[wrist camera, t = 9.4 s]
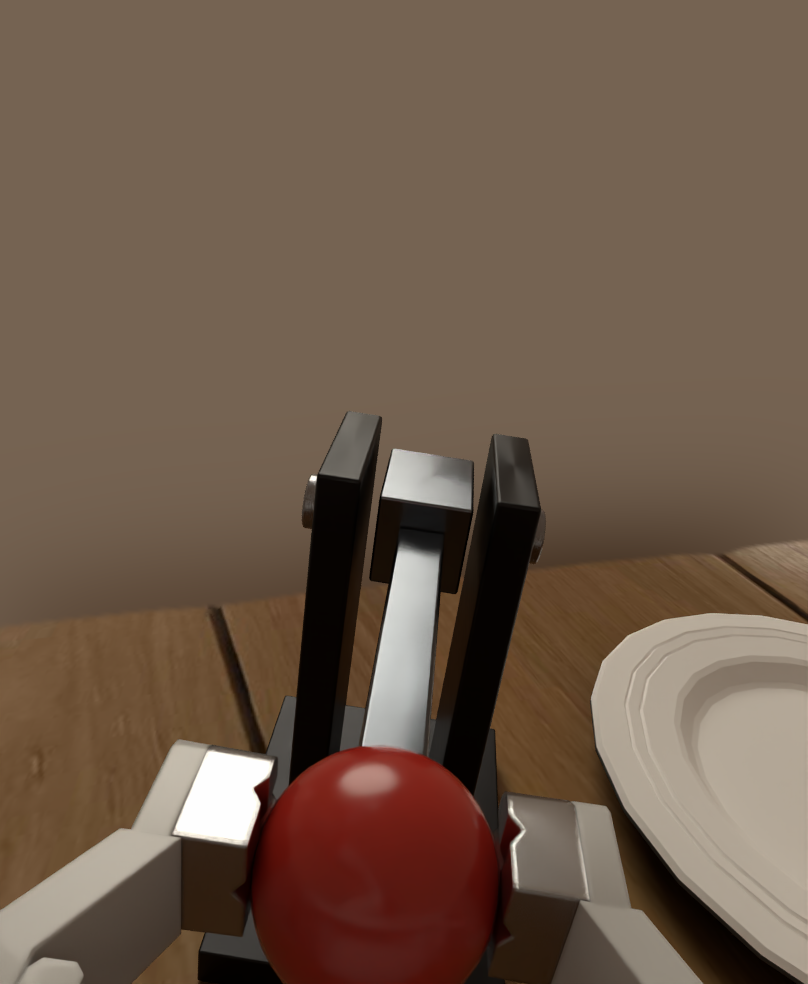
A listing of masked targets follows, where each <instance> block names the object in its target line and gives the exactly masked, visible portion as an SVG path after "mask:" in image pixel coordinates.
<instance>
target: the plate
mask: <svg viewBox="0 0 808 984" xmlns="http://www.w3.org/2000/svg"><path fill="white" fill-rule="evenodd" d="M590 705H591V714H592V723H593V731H594V740H595V749H596V752H597V755H598V757H599V759H600V761H601V763H602V766H603V768H604V770H605V772H606V774H607V777H608V779H609V781H610V783H611V785H612V788H613V790H614V792H615V794H616V797H617V799H618V801H619V803H620V805H621V808H622V810H623V812H624V813H625V814H626V816H627V817H628V818H629V820H630V821H631V822H632V824H633V825H634V826H635V828H636V829H637V830H638V832H639V833H640V834H641V836H642V837H643V838H644V839H645V841H646V842H647V843H648V845H649V846H650V847H651V849H652V850H653V851H654V853H655V854H656V855H657V857H658V858H659V859H660V861H661V862H662V863H663V865H664V866H665V867H666V868H667V870H668V871H669V872H670V874H671V875H672V876H673V878H674V879H675V880H676V882H677V883H678V884H679V885H680V886H681V887H683V888H684V889H685V890H686V891H687V892H688V893H689V894H690V895H691V896H692V897H693V898H694V899H696V900H697V901H698V902H699V903H700V904H701V905H702V906H703V907H704V908H705V909H706V910H707V911H709V912H710V913H711V914H712V915H713V916H714V917H715V918H716V919H717V920H718V921H719V922H720V923H722V924H723V925H724V926H725V927H726V928H727V929H728V930H729V931H730V932H731V933H732V934H733V935H734V936H736V937H737V938H738V939H739V940H740V941H741V942H742V943H743V944H744V945H745V946H746V947H747V948H749V949H750V950H751V951H752V952H753V953H754V954H755V955H756V956H757V957H758V958H759V959H761V960H762V961H764V962H765V963H767V964H768V965H770V966H771V967H773V968H774V969H776V970H777V971H779V972H780V973H782V974H783V975H785V976H786V977H788V978H789V979H791V980H792V981H794V982H795V983H797V984H808V625H807V624H802V623H797V622H792V621H787V620H781V619H776V618H771V617H766V616H759V615H738V614H718V613H709V614H701V615H694V616H687V617H680V618H673V619H666V620H663V621H660V622H658V623H656V624H653V625H651V626H649V627H646V628H644V629H642V630H640V631H637V632H635V633H633V634H630V635H628V636H627V637H626V638H625V639H624V640H623V641H622V642H621V643H620V644H619V645H618V646H617V647H616V648H615V649H614V650H613V651H612V652H611V653H610V654H609V655H608V656H607V657H606V658H605V659H604V660H603V662H602V665H601V668H600V671H599V674H598V677H597V680H596V683H595V687H594V690H593V693H592V696H591V700H590Z"/></svg>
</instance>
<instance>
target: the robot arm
mask: <svg viewBox="0 0 808 984" xmlns="http://www.w3.org/2000/svg"><path fill="white" fill-rule="evenodd" d="M277 776H278V758H277V757H276V756H271V755H265V754H260V753H254V752H249V751H243V750H238V749H232V748H227V747H221V746H216V745H207V744H201V743H196V742H190V741H185V740H179V739H178V740H177V741H176V742H175V743H174V745H173V746H172V747H171V748H170V750H169V752H168V754H167V756H166V758H165V760H164V763H163V765H162V767H161V769H160V771H159V773H158V775H157V777H156V779H155V781H154V783H153V785H152V787H151V789H150V791H149V793H148V795H147V797H146V799H145V801H144V803H143V805H142V807H141V809H140V811H139V813H138V815H137V818H136V820H135V822H134V824H133V826H132V828H131V829H123V828H120V829H118V830H117V831H115V832H114V833H113V834H111V835H110V836H108V837H107V838H105V839H104V840H102V841H101V842H99V843H98V844H97V845H95V846H94V847H92V848H91V849H89V850H88V851H86V852H85V853H83V854H82V855H80V856H79V857H78V858H76V859H75V860H73V861H72V862H70V863H69V864H67V865H66V866H64V867H63V868H61V869H60V870H59V871H57V872H56V873H54V874H53V875H51V876H50V877H48V878H47V879H45V880H44V881H43V882H41V883H40V884H38V885H37V886H35V887H34V888H32V889H31V890H29V891H28V892H26V893H25V894H24V895H22V896H21V897H19V898H18V899H16V900H15V901H13V902H12V903H10V904H9V905H7V906H6V907H5V908H3V909H2V910H0V984H131V983H132V982H133V981H134V980H135V979H136V978H137V977H138V976H139V975H140V974H141V973H142V972H143V971H144V970H145V969H146V968H147V967H148V966H149V965H150V964H151V963H152V962H153V961H154V960H155V959H156V958H157V957H158V956H159V955H160V954H161V953H162V952H163V951H164V950H165V949H166V948H167V947H168V946H169V945H170V944H171V943H172V942H173V941H174V940H175V939H176V938H177V937H178V936H179V935H180V934H181V929H182V930H190V931H198V932H206V933H213V934H221V935H229V936H237V937H243V934H244V930H245V927H246V923H247V920H248V916H249V913H250V909H251V900H250V878H251V867H252V860H253V856H254V853H255V850H256V847H257V843H258V840H259V835H260V832H261V829H262V827H263V824H264V821H265V820H266V818H267V816H268V814H269V812H270V811H271V809H272V807H273V806H274V804H275V802H276V797H275V796H274V794H273V789H274V786H275V783H276V779H277ZM498 820H499V827H498V828H497V829H495V830H494V831H493V832H492V835H493V838H494V842H495V846H496V850H497V855H498V859H499V869H500V901H499V906H498V911H497V916H496V922H495V926H494V929H493V932H492V935H491V938H490V941H489V943H488V945H487V958H488V977H493V978H499V979H504V980H509V981H515V982H520V983H525V984H703V983H702V982H701V981H700V979H699V978H698V977H697V976H696V975H695V973H694V972H693V971H692V970H691V969H690V967H689V966H688V965H687V964H686V963H685V961H684V960H683V959H682V958H681V957H680V955H679V954H678V953H677V952H676V951H675V949H674V948H673V947H672V946H671V945H670V943H669V942H668V941H667V940H666V939H665V937H664V936H663V935H662V934H661V933H660V931H659V930H658V929H657V928H656V927H655V926H654V924H653V923H652V922H651V921H650V920H649V918H648V917H647V916H646V915H645V914H644V912H643V911H642V910H637V909H632V908H631V905H630V900H629V895H628V891H627V886H626V881H625V877H624V872H623V868H622V863H621V858H620V854H619V849H618V845H617V840H616V835H615V831H614V826H613V821H612V817H611V812H610V811H609V810H608V808H607V807H606V806H601V805H594V804H588V803H581V802H574V801H572V802H570V801H568V800H561V799H554V798H547V797H540V796H533V795H527V794H520V793H513V792H506V791H505V792H504V794H503V795H502V797H501V801H500V805H499V808H498Z"/></svg>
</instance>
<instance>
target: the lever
mask: <svg viewBox="0 0 808 984" xmlns="http://www.w3.org/2000/svg"><path fill="white" fill-rule="evenodd" d="M473 489H474V462H473V461H469V460H464V459H457V458H451V457H444V456H437V455H432V454H425V453H418V452H412V451H405V450H399V449H392V451H391V455H390V459H389V462H388V466H387V471H386V475H385V479H384V483H383V486H382V490H381V494H380V500H379V507H378V514H377V522H376V530H375V537H374V545H373V553H372V560H371V568H370V577H369V578H370V580H371V581H376V582H382V583H388V584H389V585H388V590H387V595H386V601H385V606H384V611H383V617H382V622H381V627H380V633H379V638H378V643H377V649H376V654H375V659H374V665H373V670H372V676H371V681H370V686H369V692H368V697H367V702H366V708H365V713H364V718H363V724H362V729H361V734H360V740H359V745H358V747H355V748H350V749H346V750H343V751H340V752H336V753H334V754H332V755H330V756H328V757H325V758H324V759H322V760H320V761H319V762H317V763H315V764H314V765H312V766H310V767H309V768H308V769H306V770H305V771H304V772H303V773H301V774H300V775H299V776H298V777H297V778H296V779H295V780H294V781H293V782H292V783H291V784H290V785H289V786H288V787H287V788H286V789H285V790H284V791H283V793H282V794H281V795H280V797H279V798H278V800H277V801H276V802H275V804H274V806H273V807H272V809H271V811H270V812H269V814H268V816H267V818H266V820H265V821H264V824H263V827H262V829H261V832H260V835H259V840H258V843H257V847H256V850H255V853H254V856H253V860H252V867H251V878H250V900H251V912H252V917H253V922H254V926H255V930H256V933H257V937H258V939H259V942H260V945H261V948H262V950H263V952H264V954H265V956H266V958H267V960H268V962H269V964H270V966H271V967H272V969H273V970H274V972H275V973H276V974H277V976H278V977H279V978H280V980H281V981H282V983H283V984H464V983H465V981H466V980H467V979H468V977H469V976H470V975H471V973H472V972H473V971H474V969H475V968H476V966H477V965H478V963H479V962H480V960H481V958H482V956H483V954H484V952H485V950H486V948H487V945H488V943H489V941H490V938H491V935H492V932H493V929H494V926H495V922H496V916H497V911H498V906H499V901H500V869H499V859H498V855H497V850H496V846H495V842H494V838H493V835H492V832H491V829H490V827H489V824H488V822H487V820H486V818H485V815H484V813H483V812H482V810H481V808H480V806H479V804H478V803H477V801H476V800H475V799H474V797H473V796H472V794H471V793H470V792H469V790H468V789H467V788H466V787H465V786H464V785H463V784H462V782H461V781H460V780H459V779H458V778H457V777H456V776H455V775H453V774H452V773H451V772H450V771H449V770H447V769H446V768H445V767H443V766H442V765H440V764H439V763H437V762H435V761H434V760H432V759H430V758H428V747H429V734H430V721H431V708H432V695H433V683H434V670H435V657H436V644H437V631H438V619H439V606H440V593H441V592H445V593H451V594H456V593H457V592H458V587H459V582H460V577H461V571H462V567H463V561H464V556H465V551H466V546H467V541H468V536H469V531H470V526H471V521H472V516H473V495H474V491H473Z"/></svg>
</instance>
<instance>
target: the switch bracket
mask: <svg viewBox="0 0 808 984" xmlns="http://www.w3.org/2000/svg"><path fill="white" fill-rule="evenodd" d="M381 425H382V417H380V416H376V415H370V414H363V413H357V412H351V411H349V412H347V413H346V415H345V417H344V419H343V421H342V423H341V425H340V427H339V430H338V432H337V434H336V436H335V438H334V440H333V442H332V445H331V447H330V449H329V451H328V453H327V455H326V457H325V460H324V462H323V464H322V466H321V468H320V470H319V473H318V474H312V475H311V476H310V478H309V480H308V484H307V486H306V491H305V495H304V501H303V510H302V525H303V527H304V528H308V529H312V533H311V544H310V555H309V567H308V577H307V587H306V598H305V609H304V620H303V631H302V642H301V653H300V664H299V675H298V686H297V697H292V696H285V698H284V701H283V704H282V707H281V710H280V713H279V716H278V719H277V721H276V724H275V727H274V730H273V733H272V736H271V739H270V742H269V745H268V748H267V751H266V754H265V755H271V756H276V757H277V758H278V776H277V779H276V783H275V786H274V789H273V794H274V796H275V797H276V801H277V800H278V798H279V797H280V795H281V794H282V793H283V791H284V790H285V789H286V788H287V787H288V786H289V785H290V784H291V783H292V782H293V781H294V780H295V779H296V778H297V777H298V776H299V775H300V774H301V773H303V772H304V771H305V770H306V769H308V768H309V767H310V766H312V765H314V764H315V763H317V762H319V761H320V760H322V759H324V758H325V757H328V756H330V755H332V754H334V753H336V752H340V751H343V750H346V749H350V748H355V747H358V745H359V740H360V734H361V729H362V724H363V718H364V713H365V708H360V707H354V706H347V705H346V698H347V691H348V683H349V675H350V667H351V659H352V652H353V644H354V636H355V628H356V620H357V613H358V605H359V597H360V589H361V581H362V573H363V566H364V558H365V549H366V541H367V534H368V526H369V518H370V511H371V503H372V495H373V487H374V479H375V472H376V463H377V456H378V449H379V440H380V433H381ZM545 525H546V518H545V512H544V511H543V510H542V509H541V506H540V501H539V496H538V490H537V485H536V480H535V475H534V470H533V464H532V459H531V454H530V448H529V443H528V440H527V439H524V438H517V437H512V436H505V435H499V434H494V435H493V436H492V439H491V444H490V448H489V453H488V459H487V464H486V469H485V474H484V479H483V484H482V489H481V494H480V499H479V505H478V510H477V515H476V520H475V525H474V530H473V535H472V541H471V546H470V551H469V555H468V560H467V566H466V571H465V576H464V581H463V586H462V591H461V596H460V601H459V606H458V611H457V616H456V622H455V627H454V632H453V637H452V642H451V647H450V652H449V657H448V662H447V667H446V673H445V678H444V683H443V688H442V693H441V698H440V703H439V708H438V713H437V718H436V720H434V719H431V721H430V734H429V747H428V758H430V759H432V760H434V761H435V762H437V763H439V764H440V765H442V766H443V767H445V768H446V769H447V770H449V771H450V772H451V773H452V774H453V775H455V776H456V777H457V778H458V779H459V780H460V781H461V782H462V784H463V785H464V786H465V787H466V788H467V789H468V790H469V792H470V793H471V794H472V796H473V797H474V799H475V800H476V801H477V803H478V804H479V806H480V808H481V810H482V812H483V813H484V815H485V818H486V820H487V822H488V824H489V827H490V829H491V832H493V831H494V830H495V829H497V828H498V827H499V820H498V794H497V768H496V742H495V730H494V729H490V726H491V722H492V717H493V713H494V709H495V705H496V700H497V696H498V692H499V688H500V684H501V679H502V675H503V671H504V667H505V663H506V658H507V654H508V650H509V646H510V642H511V637H512V633H513V629H514V625H515V620H516V616H517V612H518V608H519V604H520V599H521V595H522V591H523V587H524V583H525V578H526V574H527V570H528V566H529V563H530V564H536V563H537V561H538V560H539V557H540V555H541V551H542V547H543V542H544V536H545V527H546V526H545ZM198 980H200V981H206V982H212V983H218V984H283V983H282V981H281V980H280V978H279V977H278V976H277V974H276V973H275V972H274V970H273V969H272V967H271V966H270V964H269V962H268V960H267V958H266V956H265V954H264V952H263V950H262V948H261V945H260V942H259V939H258V937H257V933H256V930H255V926H254V922H253V917H252V912H251V909H250V913H249V916H248V920H247V923H246V927H245V930H244V934H243V937H237V936H229V935H221V934H213V933H206V932H205V934H204V937H203V940H202V943H201V946H200V949H199V953H198ZM464 984H505V980H504V979H499V978H493V977H488V958H487V948H486V950H485V952H484V954H483V956H482V958H481V960H480V962H479V963H478V965H477V966H476V968H475V969H474V971H473V972H472V973H471V975H470V976H469V977H468V979H467V980H466V981H465V983H464Z"/></svg>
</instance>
